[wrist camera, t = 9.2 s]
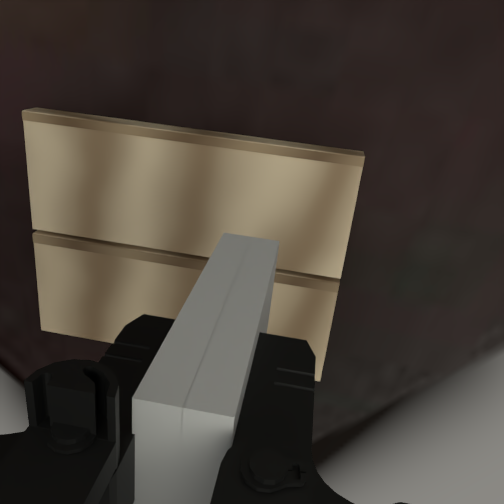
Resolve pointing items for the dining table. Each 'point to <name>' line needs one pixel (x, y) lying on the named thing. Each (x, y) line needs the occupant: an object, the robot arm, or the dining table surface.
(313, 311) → the laid plank
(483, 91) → the dining table surface
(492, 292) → the dining table surface
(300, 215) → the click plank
